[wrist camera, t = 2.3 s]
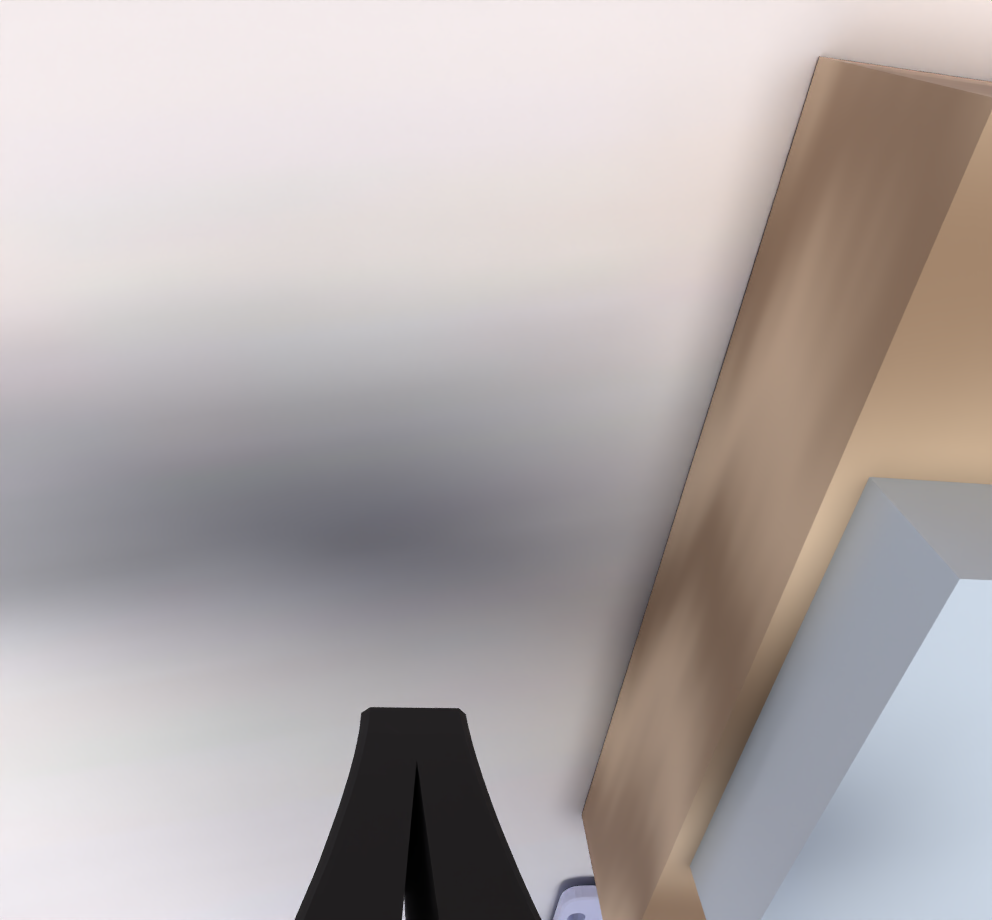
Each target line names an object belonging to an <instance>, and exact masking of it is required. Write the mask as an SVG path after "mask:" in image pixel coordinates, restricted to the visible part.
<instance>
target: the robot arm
mask: <svg viewBox="0 0 992 920" xmlns="http://www.w3.org/2000/svg"><path fill="white" fill-rule="evenodd" d="M403 901H404V902H405V917H406V920H541V918H540V916H539V914H538V912H537V909H536V907H535V905H534V903H533V901H532V899H531V897H530V894H529V892H528V890H527V888H526V886H525V883H524V881H523V879H522V877H521V874H520V872H519V870H518V867H517V865H516V862H515V860H514V858H513V855H512V853H511V850H510V848H509V846H508V843H507V841H506V838H505V836H504V833H503V831H502V829H501V826H500V824H499V821H498V818H497V816H496V813H495V810H494V808H493V805H492V802H491V799H490V797H489V794H488V791H487V788H486V785H485V782H484V779H483V777H482V773H481V770H480V767H479V764H478V761H477V758H476V754H475V751H474V747H473V744H472V740H471V736H470V732H469V728H468V723H467V718H466V714H465V713H464V712H462V711H461V710H460V709H459V708H387V707H370V708H368V709H367V710H365V711H364V712H362V713H361V721H360V729H359V735H358V740H357V745H356V749H355V754H354V758H353V762H352V766H351V769H350V773H349V776H348V780H347V783H346V786H345V789H344V793H343V796H342V799H341V802H340V805H339V808H338V811H337V814H336V817H335V819H334V822H333V825H332V828H331V830H330V833H329V836H328V839H327V841H326V844H325V847H324V850H323V853H322V855H321V858H320V861H319V863H318V866H317V868H316V871H315V873H314V876H313V878H312V880H311V883H310V885H309V887H308V890H307V892H306V894H305V897H304V899H303V901H302V904H301V906H300V908H299V911H298V913H297V915H296V918H295V920H402V912H403ZM553 920H603V919H602V914H601V909H600V904H599V899H598V894H597V889H596V885H586V886H574V887H571V888H568V889H567V890H565V891H564V892H563V893H562V895H561V896H560V899H559V902H558V905H557V908H556V911H555V915H554V918H553Z"/></svg>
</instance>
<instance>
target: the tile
mask: <svg viewBox="0 0 992 920" xmlns="http://www.w3.org/2000/svg"><path fill="white" fill-rule="evenodd" d="M690 869H691V872H692V875H693V879H694V882H695V885H696V888H697V892H698V895H699V898H700V901H701V905H702V908H703V911H704V914H705V918H706V920H992V485H991V484H975V483H959V482H943V481H927V480H911V479H895V478H879V477H869V479H868V481H867V483H866V485H865V488H864V490H863V492H862V494H861V496H860V498H859V501H858V503H857V505H856V507H855V509H854V511H853V514H852V516H851V518H850V520H849V522H848V524H847V527H846V529H845V531H844V533H843V535H842V537H841V540H840V542H839V544H838V546H837V548H836V550H835V552H834V555H833V557H832V559H831V561H830V563H829V565H828V568H827V570H826V572H825V574H824V576H823V578H822V581H821V583H820V585H819V587H818V589H817V591H816V594H815V596H814V598H813V600H812V602H811V604H810V607H809V609H808V611H807V613H806V615H805V617H804V620H803V622H802V624H801V626H800V628H799V630H798V633H797V635H796V637H795V639H794V641H793V643H792V646H791V648H790V650H789V652H788V654H787V656H786V659H785V661H784V663H783V665H782V667H781V669H780V672H779V674H778V676H777V678H776V680H775V682H774V685H773V687H772V689H771V691H770V693H769V695H768V697H767V700H766V702H765V704H764V706H763V708H762V710H761V713H760V715H759V717H758V719H757V721H756V723H755V726H754V728H753V730H752V732H751V734H750V736H749V739H748V741H747V743H746V745H745V747H744V749H743V752H742V754H741V756H740V758H739V760H738V762H737V765H736V767H735V769H734V771H733V773H732V775H731V778H730V780H729V782H728V784H727V786H726V788H725V791H724V793H723V795H722V797H721V799H720V801H719V804H718V806H717V808H716V810H715V812H714V814H713V817H712V819H711V821H710V823H709V825H708V827H707V829H706V832H705V834H704V836H703V838H702V840H701V842H700V845H699V847H698V849H697V851H696V853H695V855H694V858H693V860H692V862H691V864H690Z"/></svg>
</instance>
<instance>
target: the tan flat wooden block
mask: <svg viewBox="0 0 992 920" xmlns="http://www.w3.org/2000/svg"><path fill="white" fill-rule="evenodd" d="M869 477H879V478H895V479H911V480H927V481H943V482H959V483H975V484H991V485H992V82H989V81H982V80H975V79H968V78H962V77H955V76H948V75H941V74H935V73H928V72H921V71H914V70H908V69H901V68H894V67H887V66H881V65H874V64H867V63H860V62H853V61H847V60H840V59H833V58H826V57H820V56H819V60H818V63H817V66H816V69H815V72H814V76H813V79H812V82H811V85H810V88H809V91H808V95H807V98H806V101H805V104H804V107H803V111H802V114H801V117H800V120H799V123H798V127H797V130H796V133H795V136H794V139H793V143H792V146H791V149H790V152H789V155H788V158H787V162H786V165H785V168H784V171H783V174H782V178H781V181H780V184H779V187H778V190H777V194H776V197H775V200H774V203H773V206H772V209H771V213H770V216H769V219H768V222H767V225H766V229H765V232H764V235H763V238H762V241H761V245H760V248H759V251H758V254H757V257H756V261H755V264H754V267H753V270H752V273H751V276H750V280H749V283H748V286H747V289H746V292H745V296H744V299H743V302H742V305H741V308H740V312H739V315H738V318H737V321H736V324H735V327H734V331H733V334H732V337H731V340H730V343H729V347H728V350H727V353H726V356H725V359H724V363H723V366H722V369H721V372H720V375H719V379H718V382H717V385H716V388H715V391H714V394H713V398H712V401H711V404H710V407H709V410H708V414H707V417H706V420H705V423H704V426H703V430H702V433H701V436H700V439H699V442H698V446H697V449H696V452H695V455H694V458H693V461H692V465H691V468H690V471H689V474H688V477H687V481H686V484H685V487H684V490H683V493H682V497H681V500H680V503H679V506H678V509H677V512H676V516H675V519H674V522H673V525H672V528H671V532H670V535H669V538H668V541H667V544H666V548H665V551H664V554H663V557H662V560H661V564H660V567H659V570H658V573H657V576H656V579H655V583H654V586H653V589H652V592H651V595H650V599H649V602H648V605H647V608H646V611H645V615H644V618H643V621H642V624H641V627H640V630H639V634H638V637H637V640H636V643H635V646H634V650H633V653H632V656H631V659H630V662H629V666H628V669H627V672H626V675H625V678H624V682H623V685H622V688H621V691H620V694H619V697H618V701H617V704H616V707H615V710H614V713H613V717H612V720H611V723H610V726H609V729H608V733H607V736H606V739H605V742H604V745H603V749H602V752H601V755H600V758H599V761H598V764H597V768H596V771H595V774H594V777H593V780H592V784H591V787H590V790H589V793H588V796H587V800H586V803H585V806H584V809H583V812H582V819H583V824H584V829H585V834H586V839H587V844H588V849H589V854H590V859H591V864H592V869H593V874H594V879H595V884H596V889H597V894H598V899H599V904H600V909H601V914H602V919H603V920H706V918H705V914H704V911H703V908H702V905H701V901H700V898H699V895H698V892H697V888H696V885H695V882H694V879H693V875H692V872H691V869H690V864H691V862H692V860H693V858H694V855H695V853H696V851H697V849H698V847H699V845H700V842H701V840H702V838H703V836H704V834H705V832H706V829H707V827H708V825H709V823H710V821H711V819H712V817H713V814H714V812H715V810H716V808H717V806H718V804H719V801H720V799H721V797H722V795H723V793H724V791H725V788H726V786H727V784H728V782H729V780H730V778H731V775H732V773H733V771H734V769H735V767H736V765H737V762H738V760H739V758H740V756H741V754H742V752H743V749H744V747H745V745H746V743H747V741H748V739H749V736H750V734H751V732H752V730H753V728H754V726H755V723H756V721H757V719H758V717H759V715H760V713H761V710H762V708H763V706H764V704H765V702H766V700H767V697H768V695H769V693H770V691H771V689H772V687H773V685H774V682H775V680H776V678H777V676H778V674H779V672H780V669H781V667H782V665H783V663H784V661H785V659H786V656H787V654H788V652H789V650H790V648H791V646H792V643H793V641H794V639H795V637H796V635H797V633H798V630H799V628H800V626H801V624H802V622H803V620H804V617H805V615H806V613H807V611H808V609H809V607H810V604H811V602H812V600H813V598H814V596H815V594H816V591H817V589H818V587H819V585H820V583H821V581H822V578H823V576H824V574H825V572H826V570H827V568H828V565H829V563H830V561H831V559H832V557H833V555H834V552H835V550H836V548H837V546H838V544H839V542H840V540H841V537H842V535H843V533H844V531H845V529H846V527H847V524H848V522H849V520H850V518H851V516H852V514H853V511H854V509H855V507H856V505H857V503H858V501H859V498H860V496H861V494H862V492H863V490H864V488H865V485H866V483H867V481H868V479H869Z"/></svg>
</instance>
